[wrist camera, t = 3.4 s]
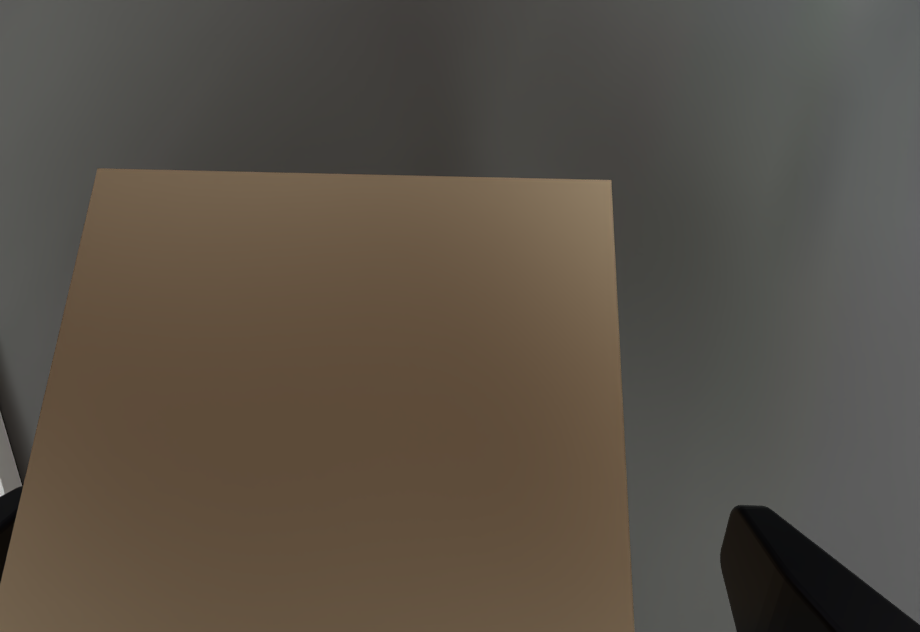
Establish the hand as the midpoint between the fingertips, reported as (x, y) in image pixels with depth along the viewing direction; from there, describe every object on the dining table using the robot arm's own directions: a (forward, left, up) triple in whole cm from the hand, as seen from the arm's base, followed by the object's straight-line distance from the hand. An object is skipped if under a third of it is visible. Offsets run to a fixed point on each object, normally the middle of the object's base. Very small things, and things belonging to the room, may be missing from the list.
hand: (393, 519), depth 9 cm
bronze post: (0, 0, -8) cm, 8 cm away
